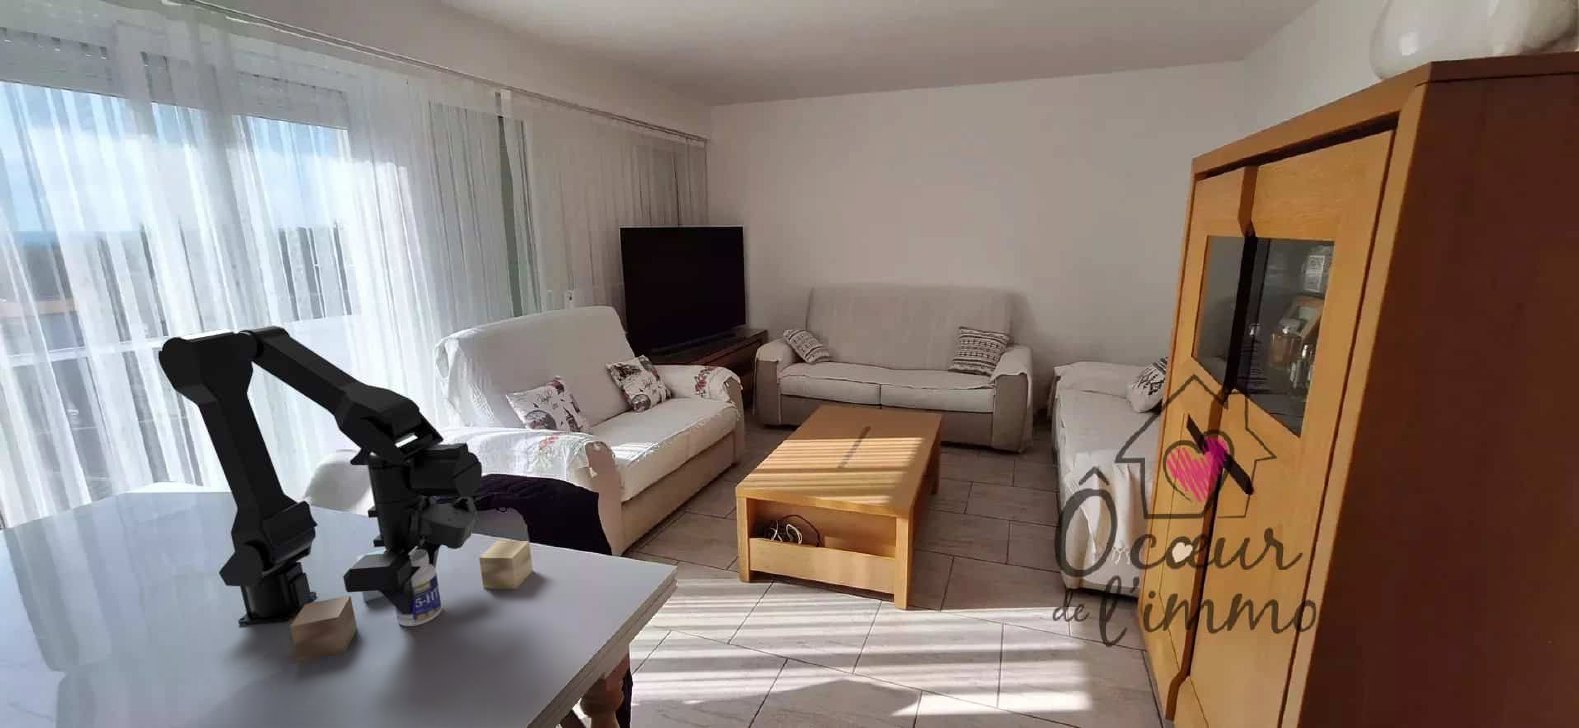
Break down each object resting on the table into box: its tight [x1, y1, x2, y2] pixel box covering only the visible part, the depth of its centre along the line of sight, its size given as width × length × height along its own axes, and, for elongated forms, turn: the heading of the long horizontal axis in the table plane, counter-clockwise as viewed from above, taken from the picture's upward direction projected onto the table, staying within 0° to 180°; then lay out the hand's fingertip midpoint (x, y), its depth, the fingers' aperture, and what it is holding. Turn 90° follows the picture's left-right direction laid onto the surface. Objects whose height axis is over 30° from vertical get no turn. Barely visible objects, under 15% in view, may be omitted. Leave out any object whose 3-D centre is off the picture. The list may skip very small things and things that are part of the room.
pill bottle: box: [394, 549, 443, 627], centre depth 86 cm, size 5×5×9 cm
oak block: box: [478, 540, 534, 590], centre depth 95 cm, size 5×5×5 cm
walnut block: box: [289, 595, 358, 663], centre depth 81 cm, size 5×5×5 cm
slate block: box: [357, 548, 387, 602], centre depth 93 cm, size 5×5×5 cm
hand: (418, 600), depth 86 cm, fingers closed on pill bottle, 5 cm apart
